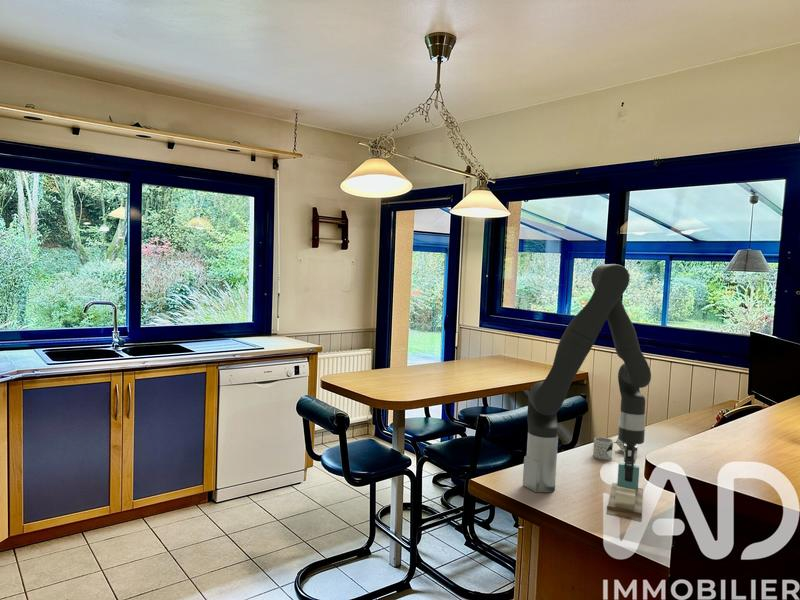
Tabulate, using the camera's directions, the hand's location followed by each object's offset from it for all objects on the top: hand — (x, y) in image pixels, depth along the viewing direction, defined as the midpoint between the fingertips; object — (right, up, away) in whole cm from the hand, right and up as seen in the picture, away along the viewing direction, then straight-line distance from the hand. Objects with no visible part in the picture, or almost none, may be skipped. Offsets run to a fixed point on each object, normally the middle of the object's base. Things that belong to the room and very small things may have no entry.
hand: (629, 476), depth 165 cm
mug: (+5, -4, +34) cm, 34 cm away
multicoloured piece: (-6, -5, -10) cm, 13 cm away
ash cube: (-8, -4, -16) cm, 18 cm away
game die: (+16, -4, +40) cm, 43 cm away
